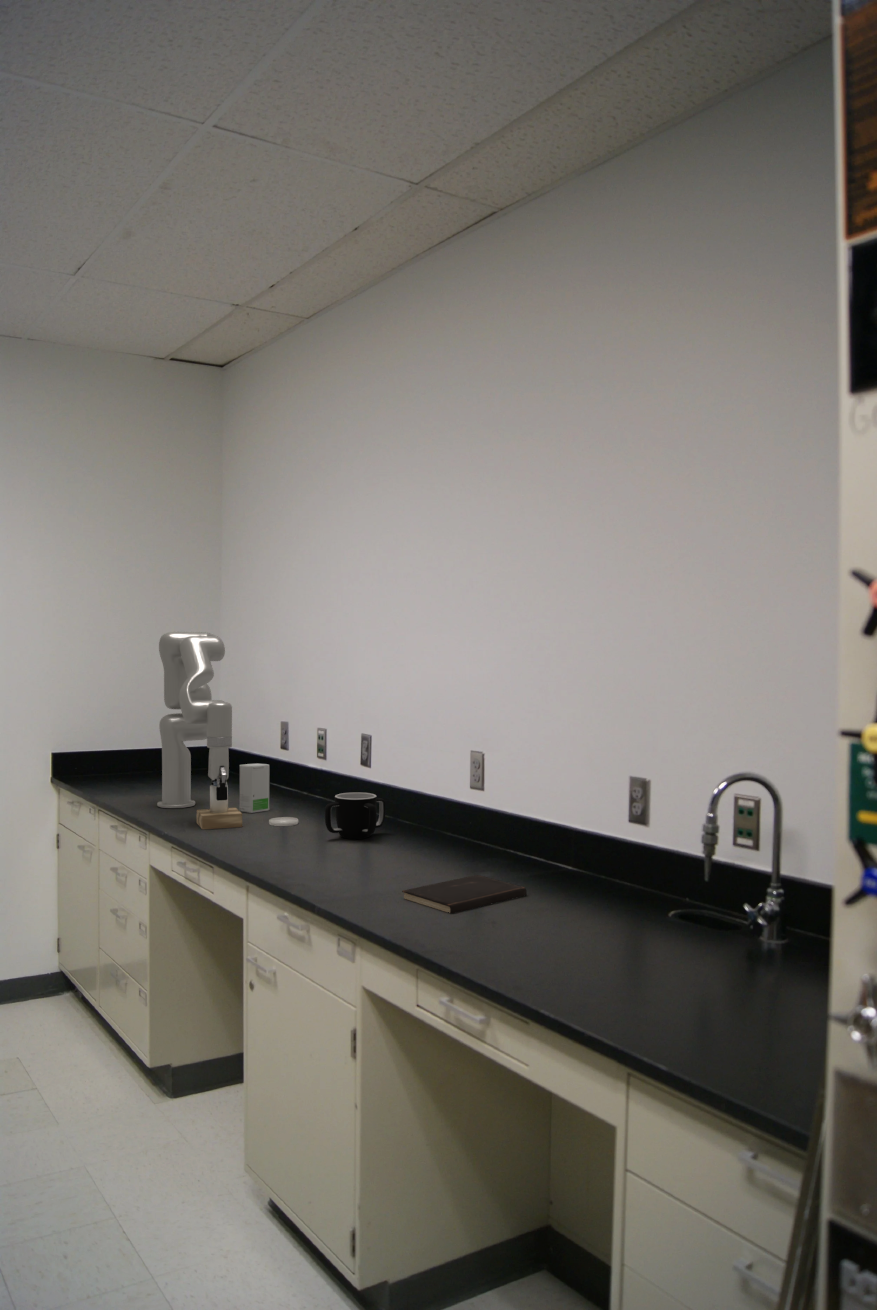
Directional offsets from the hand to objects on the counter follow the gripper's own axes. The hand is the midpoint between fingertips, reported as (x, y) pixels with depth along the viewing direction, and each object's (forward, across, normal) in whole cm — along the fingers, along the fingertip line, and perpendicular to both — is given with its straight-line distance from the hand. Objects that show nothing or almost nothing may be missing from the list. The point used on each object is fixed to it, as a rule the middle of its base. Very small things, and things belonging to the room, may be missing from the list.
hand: (219, 797), depth 299 cm
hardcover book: (+9, +105, +37) cm, 112 cm away
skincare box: (+9, -21, +15) cm, 27 cm away
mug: (+8, +32, +34) cm, 47 cm away
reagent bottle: (+4, 0, 0) cm, 4 cm away
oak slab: (+8, 0, 0) cm, 8 cm away
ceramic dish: (+8, +5, +19) cm, 21 cm away
